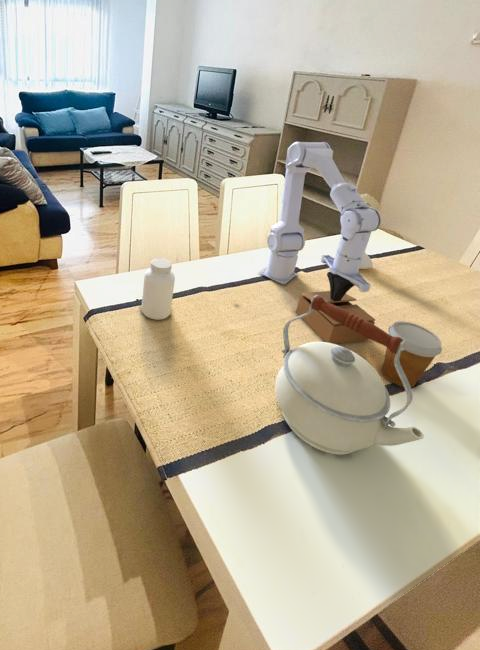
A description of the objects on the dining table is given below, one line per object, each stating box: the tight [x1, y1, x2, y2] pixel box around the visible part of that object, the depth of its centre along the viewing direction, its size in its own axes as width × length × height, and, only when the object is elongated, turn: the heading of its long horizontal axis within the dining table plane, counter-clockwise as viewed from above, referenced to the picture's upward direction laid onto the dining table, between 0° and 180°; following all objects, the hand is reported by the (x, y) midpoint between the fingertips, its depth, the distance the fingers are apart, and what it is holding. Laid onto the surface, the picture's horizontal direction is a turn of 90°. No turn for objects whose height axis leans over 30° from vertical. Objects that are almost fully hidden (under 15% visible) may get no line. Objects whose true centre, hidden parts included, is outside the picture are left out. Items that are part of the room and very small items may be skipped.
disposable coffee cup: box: [381, 320, 443, 388], centre depth 85 cm, size 10×10×12 cm
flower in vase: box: [359, 193, 381, 270], centre depth 131 cm, size 13×11×25 cm
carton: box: [295, 295, 376, 345], centre depth 101 cm, size 13×12×6 cm
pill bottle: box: [141, 257, 176, 321], centre depth 101 cm, size 8×8×15 cm
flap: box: [300, 290, 358, 303], centre depth 103 cm, size 6×12×1 cm, turn 102°
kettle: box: [274, 295, 425, 456], centre depth 69 cm, size 25×18×25 cm
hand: (335, 299), depth 101 cm, fingers closed
